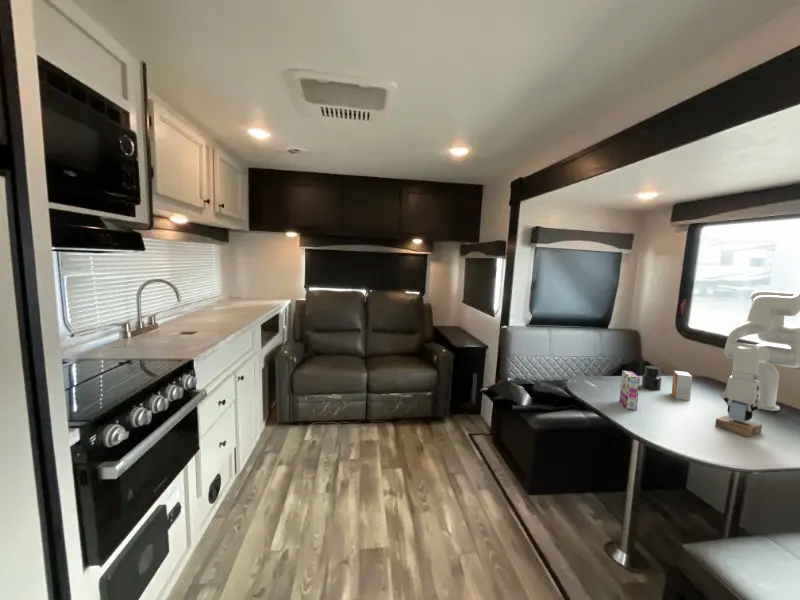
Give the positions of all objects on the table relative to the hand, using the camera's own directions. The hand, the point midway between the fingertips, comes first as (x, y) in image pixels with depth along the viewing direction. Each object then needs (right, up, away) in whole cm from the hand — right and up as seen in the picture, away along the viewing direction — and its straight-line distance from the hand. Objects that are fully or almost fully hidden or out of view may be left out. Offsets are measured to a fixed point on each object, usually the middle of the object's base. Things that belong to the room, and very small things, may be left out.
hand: (739, 416), depth 155 cm
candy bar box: (-32, -3, +25) cm, 41 cm away
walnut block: (0, -6, +1) cm, 6 cm away
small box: (+4, -2, +38) cm, 38 cm away
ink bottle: (-2, 0, +51) cm, 51 cm away
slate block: (0, -1, 0) cm, 1 cm away
